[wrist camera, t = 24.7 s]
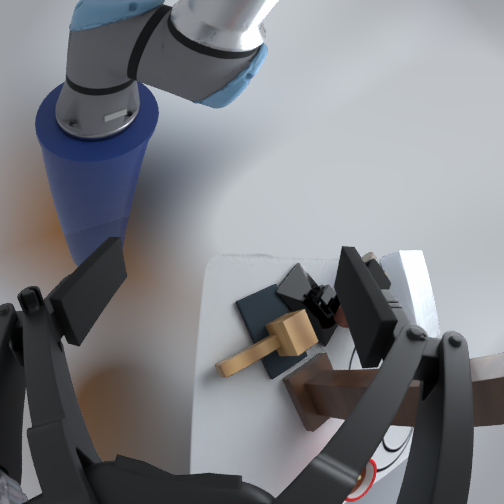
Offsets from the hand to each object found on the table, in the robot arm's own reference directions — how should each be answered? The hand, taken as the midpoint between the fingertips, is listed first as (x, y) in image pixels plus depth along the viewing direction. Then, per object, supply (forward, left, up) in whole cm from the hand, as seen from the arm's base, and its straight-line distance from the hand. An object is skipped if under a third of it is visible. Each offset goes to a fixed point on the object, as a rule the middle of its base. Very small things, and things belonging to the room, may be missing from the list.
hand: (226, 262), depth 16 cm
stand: (+21, +15, -20) cm, 33 cm away
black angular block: (+8, +21, -20) cm, 31 cm away
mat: (+9, +13, -20) cm, 26 cm away
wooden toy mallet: (+10, +10, -20) cm, 24 cm away
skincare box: (+21, +54, -18) cm, 61 cm away
